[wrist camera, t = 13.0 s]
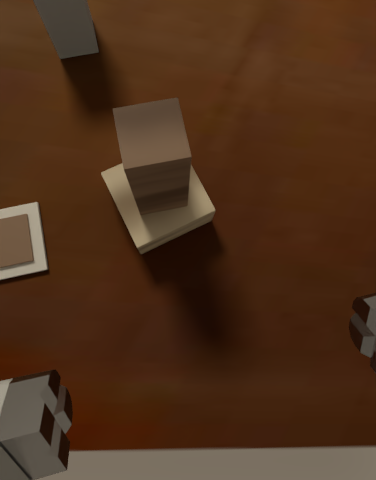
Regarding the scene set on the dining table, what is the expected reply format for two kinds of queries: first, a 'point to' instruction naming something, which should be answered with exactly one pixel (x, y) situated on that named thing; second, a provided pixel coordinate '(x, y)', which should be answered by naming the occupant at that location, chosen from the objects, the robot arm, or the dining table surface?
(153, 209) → the walnut pillar
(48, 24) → the grey pillar
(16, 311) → the dining table surface
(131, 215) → the maple block
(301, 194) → the dining table surface
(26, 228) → the swatch
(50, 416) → the robot arm
